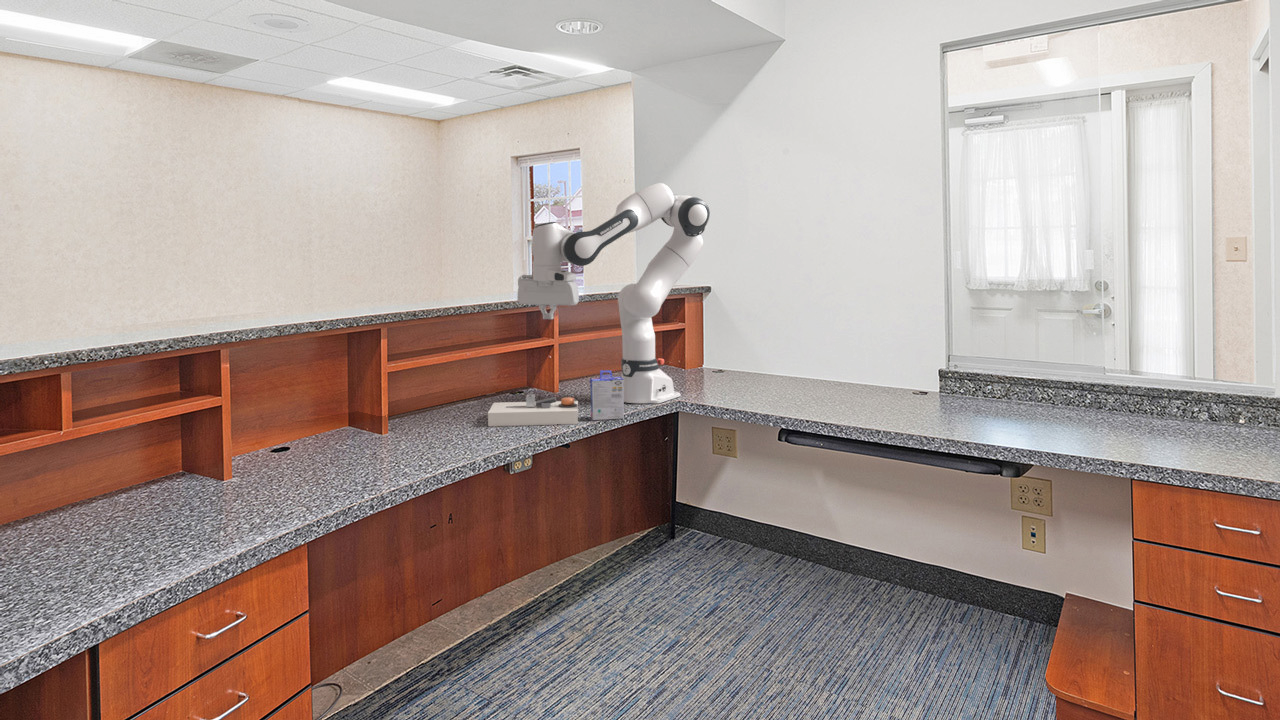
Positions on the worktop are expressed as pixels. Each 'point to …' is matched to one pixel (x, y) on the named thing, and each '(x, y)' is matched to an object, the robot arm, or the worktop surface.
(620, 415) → the ink cartridge box
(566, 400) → the push button
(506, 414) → the control panel
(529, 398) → the slider knob
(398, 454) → the worktop surface
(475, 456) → the worktop surface
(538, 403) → the rocker switch
